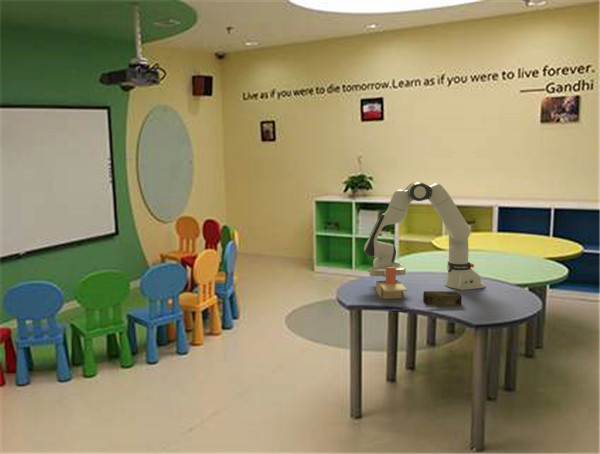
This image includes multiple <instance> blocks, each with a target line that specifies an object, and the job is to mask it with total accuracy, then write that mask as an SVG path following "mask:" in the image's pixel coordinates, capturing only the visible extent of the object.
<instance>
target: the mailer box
mask: <svg viewBox="0 0 600 454" xmlns="http://www.w3.org/2000/svg"><path fill="white" fill-rule="evenodd" d="M396 282H399V281H398V280H397V279H396ZM375 283H376V287H375V288H376V289H375V292H376V293H377V294H378V296H379V298H380V299H381V300H385V299H386V300H388V299H389V300H390V299H391V300H392V299H403V298H404V291H391V292H384V290H383V289H382V288H381V286H380V285H379V283H386V280H376V282H375Z"/></svg>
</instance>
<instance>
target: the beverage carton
mask: <svg viewBox="0 0 600 454" xmlns="http://www.w3.org/2000/svg"><path fill="white" fill-rule="evenodd" d="M422 295H423V296H422V298H423V299H422V301H423V304H424V305H427V306H428V305H429V306H431V305H432V306H433V305H435V306H436V307H461V306H462V299H463V298H462V297H463V296H462V294H461V293H460V292H459V291H457V290H456V291H450V290H449V291H448V290H447V291H444V290H443V291H442V290H441V291H439V290H438V291H435V290H433V291H432V290H426V291H425V290H424V291H423V294H422Z"/></svg>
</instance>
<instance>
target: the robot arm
mask: <svg viewBox="0 0 600 454" xmlns="http://www.w3.org/2000/svg"><path fill="white" fill-rule="evenodd" d="M427 200H428V202H430V204H431V205H432V207H433V208H434V210H435V212H436V213H437V215H438V216H439V218H440V220H441V221H442V223H443V225H444V227H445V228H446V230H447V231H448V261H447V268H446V269H447V270H446V271H447V275H446V280H445V283H444V285H445V286H446V287H448V288H451V289H458V290H460V291H465V290H474V289H475V290H476V289H483V288H486V284H485V283H484V282H482V278H481V276H480V274H479V273H478V272H477V271H475V270H474V269H473V268H474V267H475V264H474V263H471V262H469V252H470V251H469V250H470V249H469V237H470V235H471V228H470V225H469V224H468V223H467V221H466V219H465V218H464V217H463V215H462V213H461V211H460V210H459V208H458V206H457V205H456V204H455V202H454V200H453V199H452V197H451V196H450V194H449V193H448V192H447V190H446V189H445V188H444V186H443V185H442V184H440V183H433V184H432V183H431V185H427V184H426V183H424V182H422V181H414V182H411V183H409V184H408V186H407V187H406V188H404V189H397V190H395V191H394V192H393V195H392V197H391V198H390V201H389V204H388V207H387V209H386V210H385V212H384V213H381V214H380V215H379V216H378V219H377V220H376V222H375V224H374V226H373V228H372V230H371V232H370V234H369V236H368V238H367V240H366V242H365V244H364V247H363V252H364V254H366V256H367V257H371V258H372V257H374V259H373V263H372V265H373V266H372V267H369V268H368V269H367V272H368V273H369V277H383V278H386V267H395V268H396V276H405V275H406V272H407V270H406V267H405V266H404V265H401V263H400V262H395V260H396V259H395V258H396V256H397V255H396V254H397V249H396V247H395V245H394V244H392V243H389V242H384V241H379V240H378V237H379V235H380V233H381V232H382V229H383V228H384V227H385V226H388V225H395V224H399V223H401V222H403V221H404V220H405V218H406V216H407V214H408V209H409V207H410V204H411V203H412V202H413V201H415V202H423V201H427Z"/></svg>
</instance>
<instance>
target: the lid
mask: <svg viewBox="0 0 600 454" xmlns="http://www.w3.org/2000/svg"><path fill="white" fill-rule="evenodd" d="M396 277H397V275H396V268H395V267H386V277H385V281H386V283H379V285H380V286H381V288H382V289H383V290H384V292H391V291H403V292H408V289H407V287H405V286H404V284H403V283H402V282H400V281H398V282H396V280H397V278H396Z"/></svg>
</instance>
